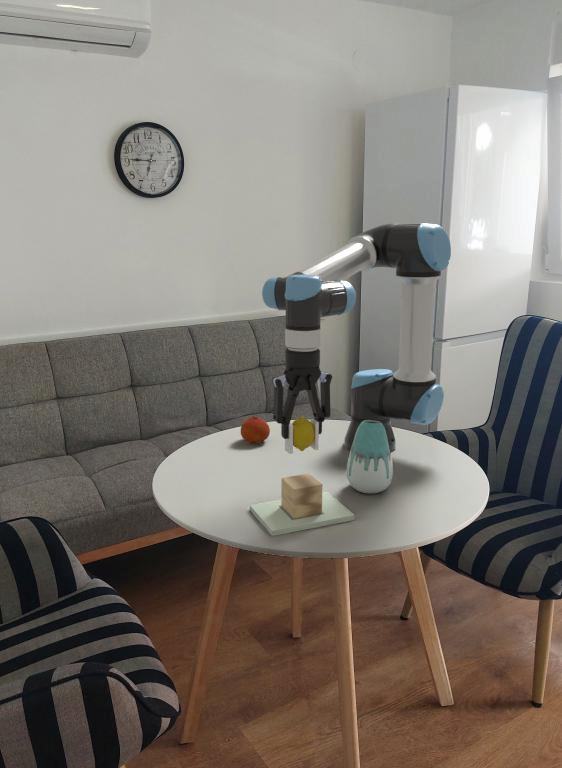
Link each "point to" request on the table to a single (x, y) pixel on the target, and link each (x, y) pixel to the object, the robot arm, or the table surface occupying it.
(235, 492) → the table surface
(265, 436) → the fruit
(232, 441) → the table surface
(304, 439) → the lemon
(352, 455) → the vase
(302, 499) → the oak cube
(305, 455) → the table surface
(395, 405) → the robot arm
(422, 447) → the table surface
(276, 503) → the board
